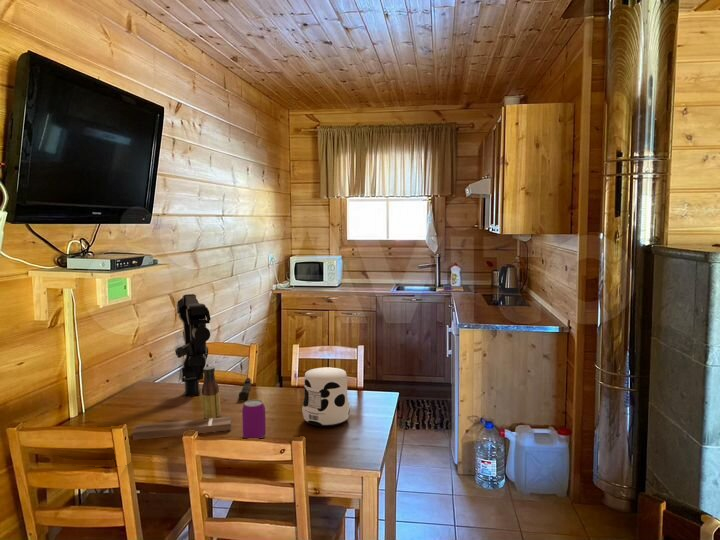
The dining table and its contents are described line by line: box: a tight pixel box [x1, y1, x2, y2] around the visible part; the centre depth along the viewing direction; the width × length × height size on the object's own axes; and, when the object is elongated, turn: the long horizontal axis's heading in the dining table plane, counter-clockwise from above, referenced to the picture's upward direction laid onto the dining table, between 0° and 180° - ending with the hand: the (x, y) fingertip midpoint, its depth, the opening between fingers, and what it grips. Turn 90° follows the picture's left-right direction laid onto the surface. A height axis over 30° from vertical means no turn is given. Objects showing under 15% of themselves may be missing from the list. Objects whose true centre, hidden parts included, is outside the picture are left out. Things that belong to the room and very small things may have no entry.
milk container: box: [301, 366, 351, 427], centre depth 190 cm, size 17×17×18 cm
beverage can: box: [241, 398, 267, 439], centre depth 177 cm, size 8×8×12 cm
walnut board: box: [132, 416, 232, 441], centre depth 182 cm, size 7×32×3 cm, turn 103°
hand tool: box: [238, 377, 252, 401], centre depth 223 cm, size 19×4×5 cm, turn 3°
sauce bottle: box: [201, 366, 222, 419], centre depth 192 cm, size 6×6×20 cm
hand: (199, 376), depth 203 cm, fingers open, 9 cm apart
